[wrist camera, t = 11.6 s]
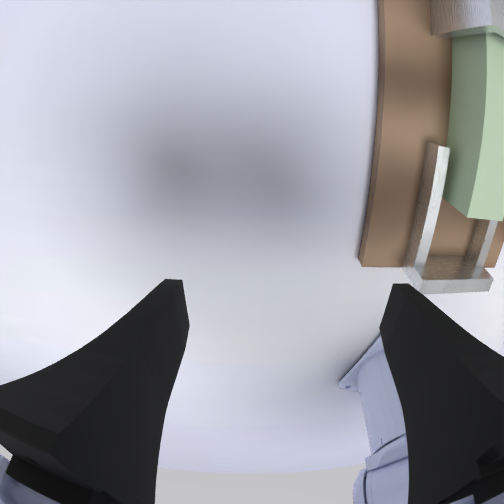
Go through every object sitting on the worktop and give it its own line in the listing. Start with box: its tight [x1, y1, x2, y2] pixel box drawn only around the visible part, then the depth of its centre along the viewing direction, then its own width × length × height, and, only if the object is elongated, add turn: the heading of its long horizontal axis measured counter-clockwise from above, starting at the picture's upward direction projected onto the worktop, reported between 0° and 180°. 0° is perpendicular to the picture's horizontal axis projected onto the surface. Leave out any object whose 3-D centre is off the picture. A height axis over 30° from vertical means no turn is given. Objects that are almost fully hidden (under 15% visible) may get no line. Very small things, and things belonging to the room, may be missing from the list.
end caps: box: [402, 0, 504, 294], centre depth 11 cm, size 22×6×6 cm, turn 0°
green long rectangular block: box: [442, 32, 504, 221], centre depth 11 cm, size 13×3×4 cm, turn 0°
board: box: [358, 0, 504, 268], centre depth 14 cm, size 22×12×1 cm, turn 0°
